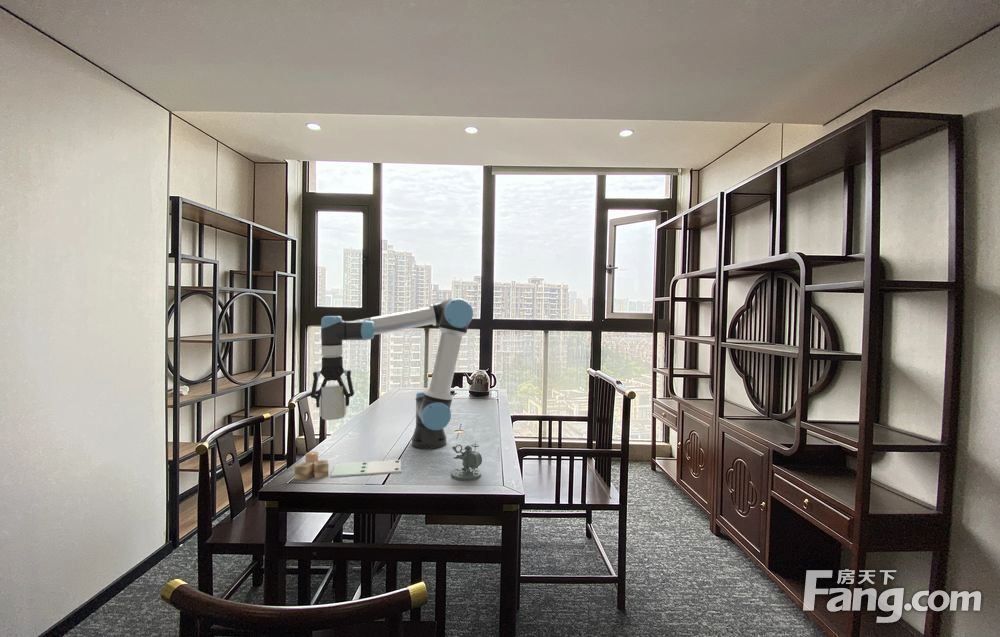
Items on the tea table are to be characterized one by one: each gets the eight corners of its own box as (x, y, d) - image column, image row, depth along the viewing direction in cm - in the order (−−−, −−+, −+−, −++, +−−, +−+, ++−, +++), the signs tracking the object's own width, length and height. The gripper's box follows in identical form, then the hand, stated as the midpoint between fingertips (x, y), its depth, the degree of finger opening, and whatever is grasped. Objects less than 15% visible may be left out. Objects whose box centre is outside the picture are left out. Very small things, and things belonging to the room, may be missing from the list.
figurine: (462, 468, 169) (463, 436, 169) (487, 473, 163) (487, 441, 163) (445, 477, 160) (445, 443, 159) (470, 483, 154) (470, 448, 154)
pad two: (401, 461, 175) (401, 459, 175) (400, 472, 164) (400, 470, 164) (369, 463, 173) (369, 461, 173) (366, 474, 161) (366, 472, 161)
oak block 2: (327, 472, 164) (327, 459, 164) (328, 476, 160) (328, 463, 160) (314, 473, 162) (314, 461, 162) (314, 478, 158) (314, 465, 158)
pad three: (369, 463, 173) (369, 461, 173) (366, 474, 161) (366, 472, 161) (336, 465, 170) (336, 463, 170) (331, 477, 159) (331, 474, 159)
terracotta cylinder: (319, 467, 168) (319, 451, 168) (317, 471, 164) (317, 455, 164) (306, 467, 167) (306, 451, 167) (304, 472, 163) (304, 455, 163)
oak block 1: (313, 475, 160) (313, 462, 160) (307, 480, 156) (307, 467, 156) (301, 474, 161) (301, 462, 161) (294, 479, 157) (294, 466, 156)
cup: (336, 420, 169) (336, 388, 168) (317, 419, 170) (316, 387, 170) (348, 415, 177) (347, 384, 176) (329, 414, 178) (329, 384, 178)
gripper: (361, 354, 179) (362, 411, 179) (305, 355, 174) (306, 414, 175) (359, 356, 171) (360, 415, 172) (300, 358, 167) (301, 419, 168)
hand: (333, 415), depth 173 cm, fingers closed on cup, 8 cm apart
